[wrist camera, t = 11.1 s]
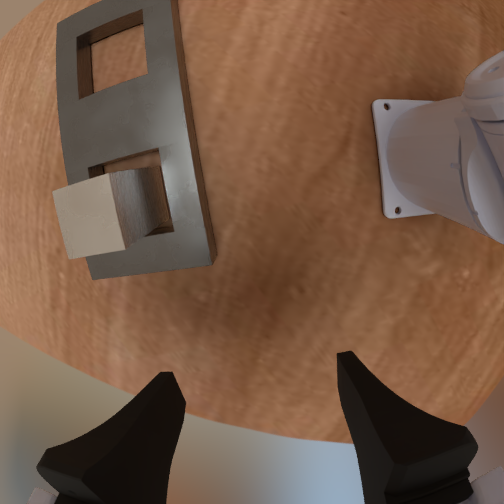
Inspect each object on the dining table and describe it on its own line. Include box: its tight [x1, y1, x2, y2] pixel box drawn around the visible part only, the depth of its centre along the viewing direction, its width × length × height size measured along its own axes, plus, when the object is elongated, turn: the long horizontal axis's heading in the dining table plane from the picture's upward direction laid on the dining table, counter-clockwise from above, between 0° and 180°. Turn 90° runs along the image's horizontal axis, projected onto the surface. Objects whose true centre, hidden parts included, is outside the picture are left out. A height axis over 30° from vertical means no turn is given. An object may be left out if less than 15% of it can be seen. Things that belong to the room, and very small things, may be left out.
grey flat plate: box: [56, 0, 217, 280], centre depth 17 cm, size 9×20×2 cm, turn 9°
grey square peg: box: [52, 166, 170, 259], centre depth 16 cm, size 4×4×7 cm
